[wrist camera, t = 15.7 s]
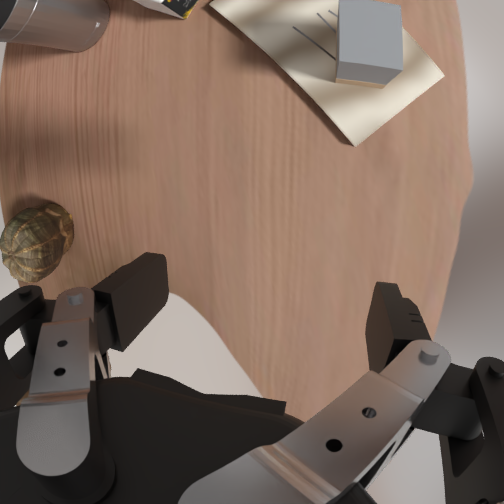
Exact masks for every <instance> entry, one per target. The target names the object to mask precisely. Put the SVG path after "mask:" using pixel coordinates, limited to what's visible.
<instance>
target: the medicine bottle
mask: <svg viewBox="0 0 504 504" xmlns="http://www.w3.org/2000/svg"><path fill="white" fill-rule="evenodd" d="M134 1H135V2H137V3H139V4H141V5H143V6H145V7H146V8H150V9H153V10H156V11H160V12H163V13H166V14H170V15H173V16H176V17H179V18H182V19H187V18H188V16H189V14H190V13H191V11H192V10H193V8H194V7H195V5H196V4H197V2H198V0H134Z"/></svg>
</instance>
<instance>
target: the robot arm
mask: <svg viewBox="0 0 504 504" xmlns="http://www.w3.org/2000/svg"><path fill="white" fill-rule="evenodd" d="M108 21H109V7H108V5H107V3H106V2H105V1H104V0H0V42H11V43H21V44H29V45H37V46H44V47H50V48H57V49H62V50H68V51H74V52H82V51H84V50H87V49H88V48H90V47H91V46H93V45H94V44H95V43H96V42H97V41H98V40H99V38H100V37H101V36H102V34H103V33H104V31H105V29H106V27H107V24H108ZM168 295H169V288H168V275H167V262H166V257H165V256H164V255H163V254H157V253H149V252H145V253H144V254H142V255H141V256H139V257H138V258H137V259H135V260H134V261H132V262H131V263H129V264H127V265H124V266H122V267H120V268H119V269H118V270H116V271H115V273H112V274H111V275H109V276H108V277H106V278H105V279H104V280H102V281H101V282H100V283H98V284H97V285H95V286H94V287H93V288H91V289H89V288H86V287H76V288H71V289H68V290H66V291H64V292H62V293H61V294H59V295H58V297H57V299H56V300H47V299H44V296H43V292H42V289H41V287H39V286H36V285H29V286H24V287H21V288H18V289H17V290H15V291H14V292H12V293H11V294H9V295H8V296H6V297H5V298H3V299H2V300H1V301H0V504H377V503H376V502H375V501H374V500H373V498H372V497H371V496H370V495H369V494H368V493H367V491H366V489H368V488H369V486H370V485H371V484H372V483H373V482H374V481H375V479H376V478H377V477H378V476H379V474H380V473H381V472H382V471H383V469H384V468H385V467H386V466H387V465H388V463H389V462H390V461H391V460H392V459H393V457H394V456H395V455H396V454H397V452H398V451H399V450H400V449H401V448H402V446H403V445H404V444H405V442H406V441H407V440H408V438H409V437H410V436H411V435H412V433H413V432H414V431H415V429H416V428H417V429H422V430H425V431H428V432H432V433H436V434H439V440H440V447H441V455H442V464H443V473H444V485H445V499H446V504H504V362H503V361H502V360H500V359H497V358H493V357H483V358H481V359H479V360H478V361H477V363H476V365H475V367H474V369H470V368H466V367H462V366H458V365H455V364H452V363H451V356H450V354H449V352H448V351H447V350H446V349H445V348H444V347H443V346H441V345H440V344H438V343H436V342H433V341H432V340H431V338H430V335H429V333H428V331H427V328H426V326H425V323H423V319H422V316H420V315H421V314H420V312H419V309H418V307H417V306H416V305H415V304H414V303H413V302H412V301H411V300H410V299H409V298H402V295H401V293H400V290H399V288H398V285H397V284H395V283H386V282H376V285H375V288H374V292H373V297H372V301H371V305H370V310H369V314H368V318H367V323H366V332H365V335H366V343H367V352H368V360H369V369H370V371H368V372H367V373H366V374H365V375H363V376H362V377H361V378H360V379H359V380H358V381H357V382H355V383H354V384H353V385H352V386H351V387H350V388H348V389H347V390H346V391H345V392H344V393H342V394H341V395H340V396H339V397H337V398H336V399H335V400H334V401H333V402H331V403H330V404H329V405H327V406H326V407H325V408H324V409H322V410H321V411H320V412H318V413H317V414H316V415H315V416H313V417H312V418H311V419H309V420H308V421H307V422H303V421H301V420H299V419H297V418H295V417H293V416H291V415H288V414H286V413H285V407H286V402H285V401H278V400H272V399H266V398H260V397H255V396H248V395H217V394H203V393H200V392H198V391H196V390H194V389H192V388H190V387H188V386H186V385H184V384H182V383H180V382H178V381H176V380H174V379H172V378H170V377H166V376H163V375H159V374H155V373H152V372H148V371H145V370H142V369H139V368H138V369H137V370H136V371H135V372H134V374H133V375H132V376H131V377H112V378H111V371H110V362H109V356H108V352H107V350H108V349H109V348H111V349H114V350H118V351H121V352H123V351H124V350H125V349H126V348H127V346H129V345H130V343H131V342H132V341H133V340H134V339H135V338H136V337H137V336H138V335H139V333H140V332H141V331H142V330H143V329H144V328H145V327H146V326H147V325H148V323H149V322H150V321H151V320H152V319H153V318H154V317H155V316H156V314H157V313H158V312H159V311H160V310H161V309H162V308H163V307H164V306H165V304H166V302H167V299H168ZM18 328H20V331H21V334H22V337H23V339H24V342H25V346H24V347H23V348H22V349H20V351H18V352H17V353H16V354H15V355H14V356H13V357H12V358H11V359H10V360H8V357H7V355H6V353H5V349H4V344H5V341H6V339H7V338H8V337H9V336H10V335H11V334H12V333H14V332H15V331H16V330H17V329H18ZM29 389H30V390H29ZM28 390H29V395H28V397H27V398H24V399H23V400H22V402H21V405H19V406H16V407H14V406H15V405H16V404H17V403H18V401H19V400H20V399H21V398H22V397H23V396H24V395H25V394H26V393H27V391H28ZM482 430H483V433H484V437H483V433H482Z"/></svg>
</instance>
